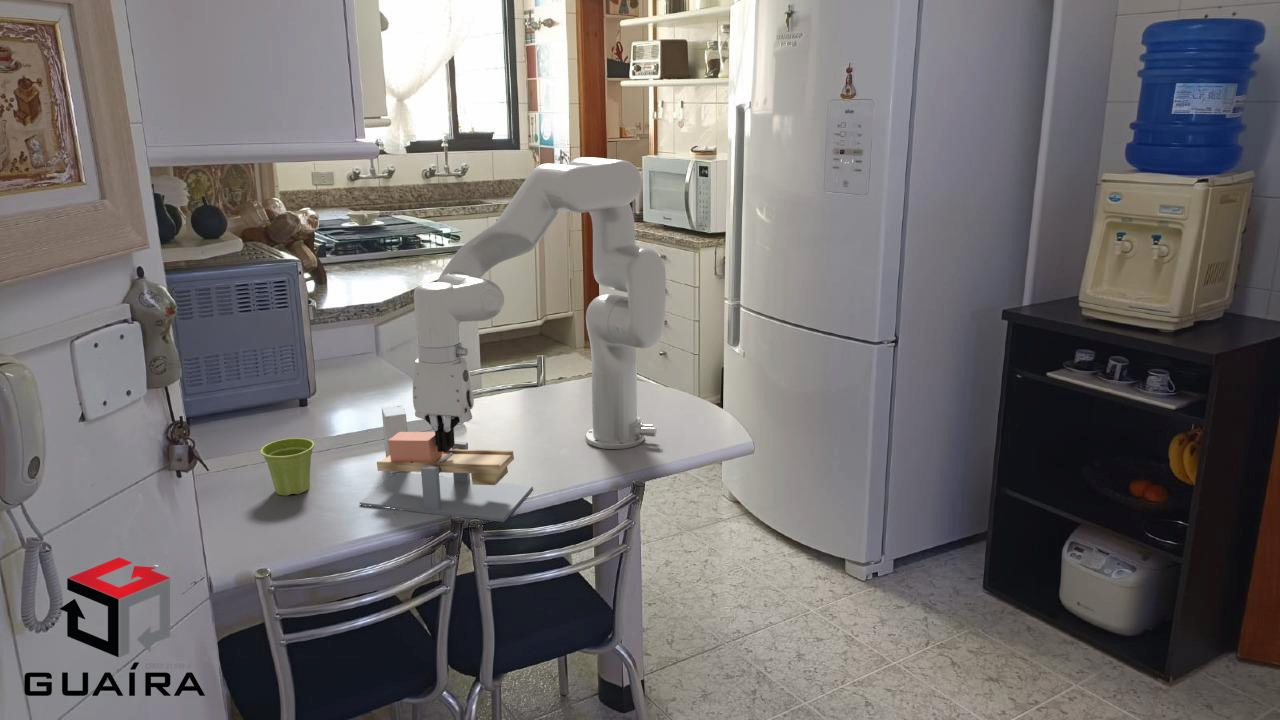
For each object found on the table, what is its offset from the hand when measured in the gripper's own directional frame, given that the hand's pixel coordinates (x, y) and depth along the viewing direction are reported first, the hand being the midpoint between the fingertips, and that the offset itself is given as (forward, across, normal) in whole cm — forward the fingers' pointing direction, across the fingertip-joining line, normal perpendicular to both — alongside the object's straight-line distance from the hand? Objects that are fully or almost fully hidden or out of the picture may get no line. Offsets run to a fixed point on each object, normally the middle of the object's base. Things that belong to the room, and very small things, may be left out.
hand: (445, 449), depth 171 cm
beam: (+5, 0, 0) cm, 5 cm away
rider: (+2, +6, 0) cm, 6 cm away
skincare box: (+10, +16, -11) cm, 22 cm away
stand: (+10, 0, 0) cm, 10 cm away
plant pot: (+10, +30, +4) cm, 32 cm away
